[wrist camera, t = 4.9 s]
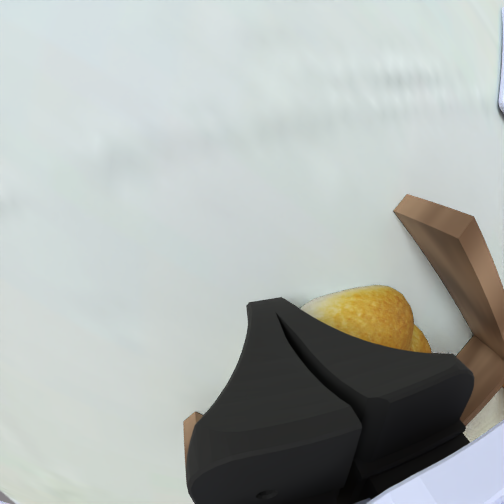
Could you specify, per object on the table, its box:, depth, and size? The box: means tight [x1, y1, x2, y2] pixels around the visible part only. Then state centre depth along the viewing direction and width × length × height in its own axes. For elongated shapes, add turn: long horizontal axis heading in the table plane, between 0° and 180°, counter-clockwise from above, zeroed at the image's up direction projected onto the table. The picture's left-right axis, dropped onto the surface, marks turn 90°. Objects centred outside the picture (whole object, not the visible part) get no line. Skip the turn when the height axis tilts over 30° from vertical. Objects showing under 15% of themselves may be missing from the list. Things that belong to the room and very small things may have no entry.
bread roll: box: [300, 285, 432, 353], centre depth 13 cm, size 8×9×4 cm
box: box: [184, 194, 504, 481], centre depth 14 cm, size 13×15×4 cm
